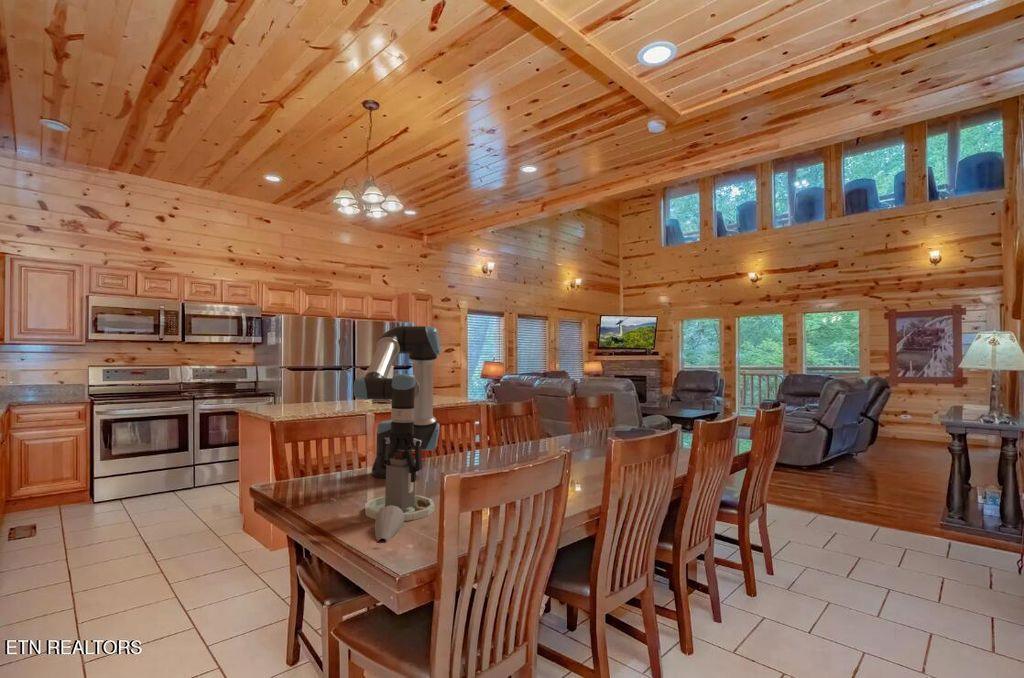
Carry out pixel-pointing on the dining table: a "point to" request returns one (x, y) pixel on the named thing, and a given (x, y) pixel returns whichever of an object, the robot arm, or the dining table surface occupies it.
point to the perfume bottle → (398, 482)
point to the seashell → (388, 522)
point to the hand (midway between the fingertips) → (400, 490)
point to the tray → (409, 513)
